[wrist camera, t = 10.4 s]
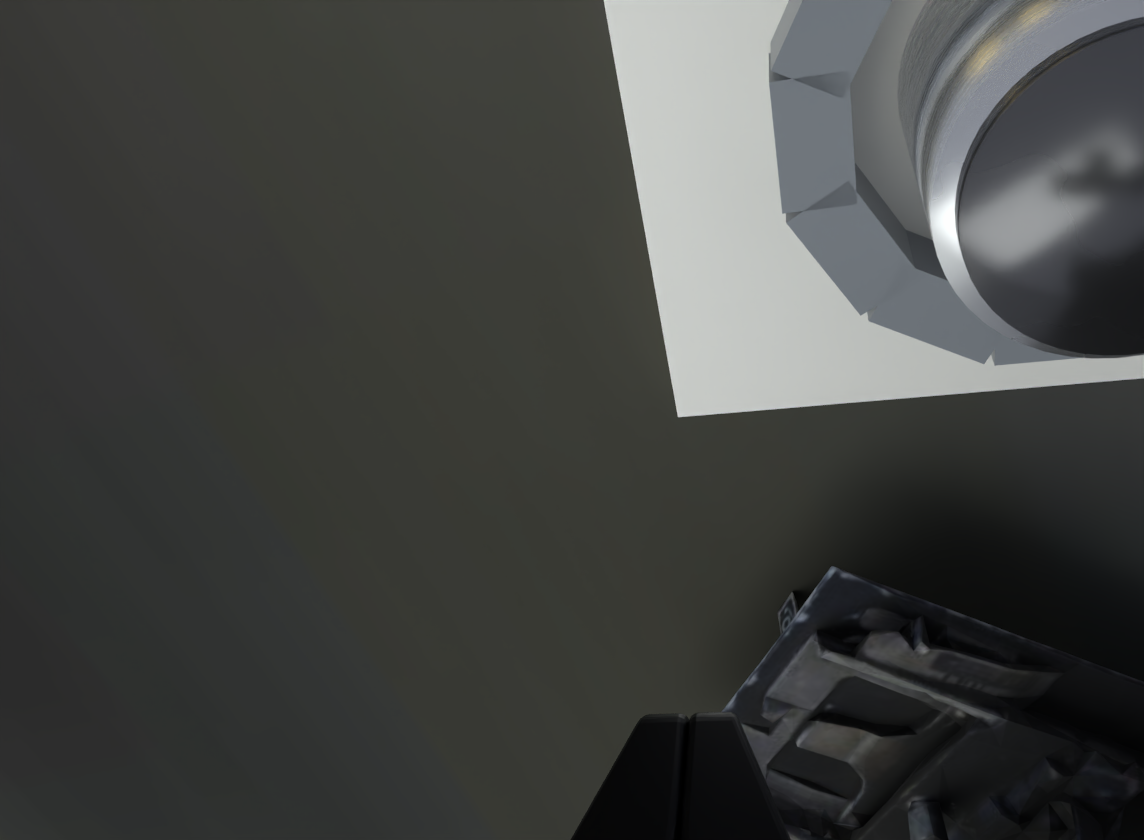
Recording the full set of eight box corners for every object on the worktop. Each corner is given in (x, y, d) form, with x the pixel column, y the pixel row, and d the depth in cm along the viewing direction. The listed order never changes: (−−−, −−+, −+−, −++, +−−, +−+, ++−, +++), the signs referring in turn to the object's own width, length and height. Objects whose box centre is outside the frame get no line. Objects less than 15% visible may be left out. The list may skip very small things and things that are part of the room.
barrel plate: (1665, -516, 13) (1824, -545, 11) (1436, 323, 20) (1512, 398, 18) (568, -259, 17) (541, -247, 15) (680, 390, 23) (672, 461, 21)
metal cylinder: (1259, -123, 15) (1430, -39, 11) (1207, 201, 18) (1331, 360, 14) (895, -66, 17) (936, 28, 13) (898, 231, 19) (932, 386, 15)
